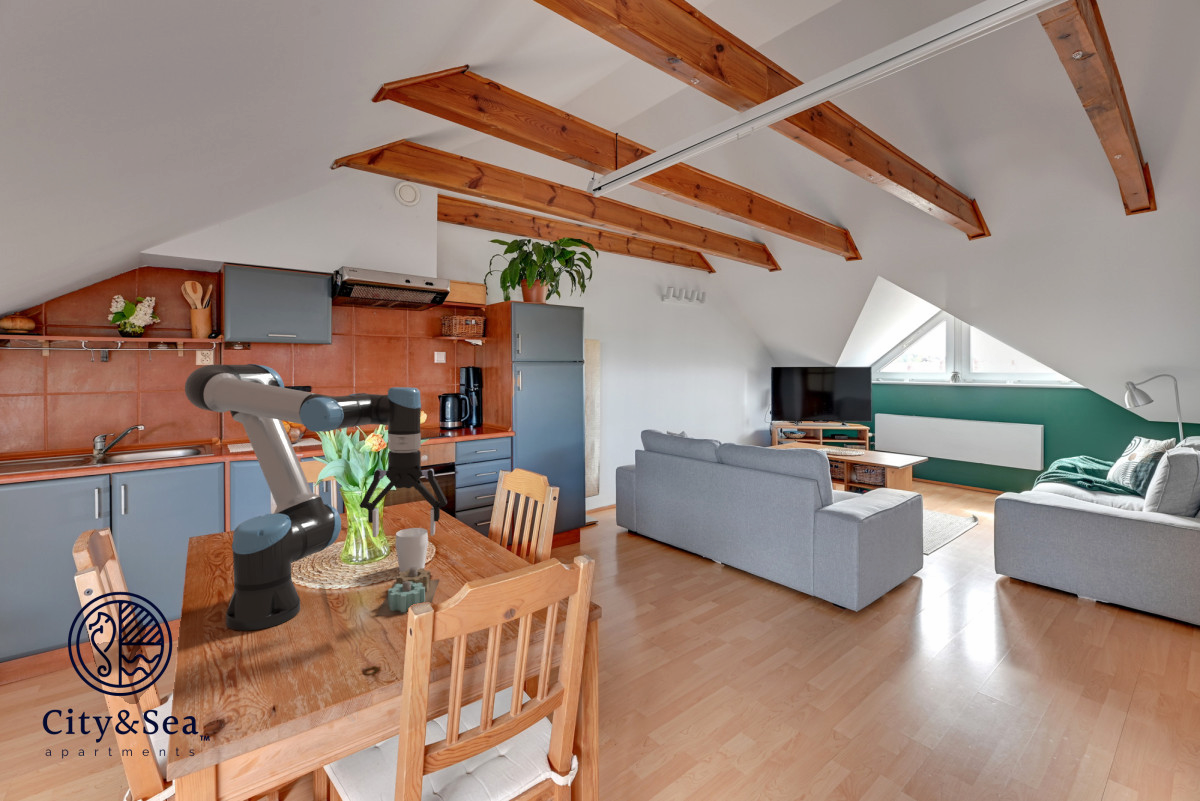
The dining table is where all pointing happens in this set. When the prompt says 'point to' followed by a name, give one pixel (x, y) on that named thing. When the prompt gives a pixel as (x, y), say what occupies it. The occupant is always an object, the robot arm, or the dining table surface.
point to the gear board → (427, 599)
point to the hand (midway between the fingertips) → (404, 534)
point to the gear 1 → (415, 578)
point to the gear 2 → (405, 596)
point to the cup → (411, 548)
